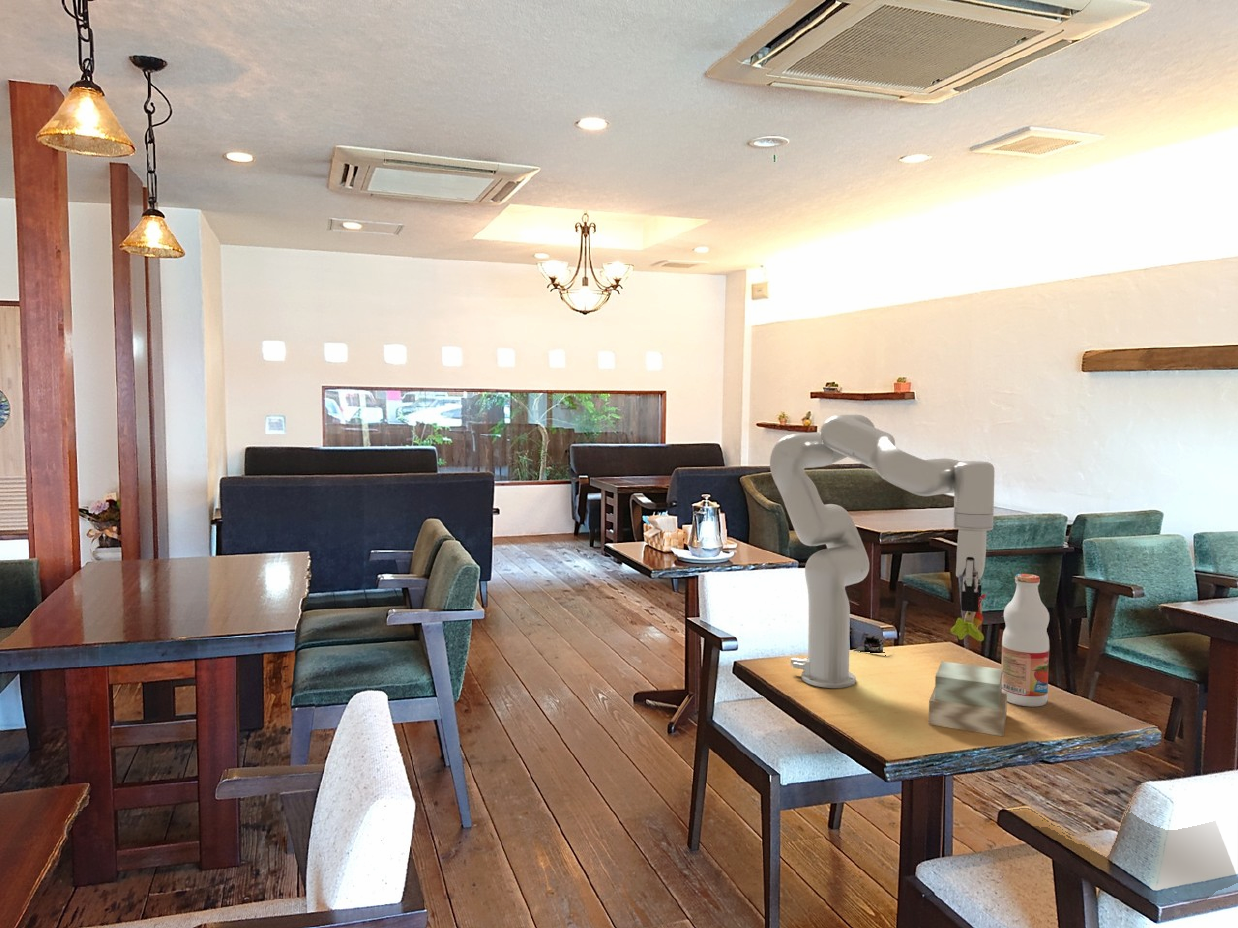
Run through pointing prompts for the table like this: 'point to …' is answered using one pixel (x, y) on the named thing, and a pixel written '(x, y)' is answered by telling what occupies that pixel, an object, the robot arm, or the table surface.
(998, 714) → the striped stacked block
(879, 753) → the table surface
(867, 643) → the dark grey rounded block
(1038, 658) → the fruit juice
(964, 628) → the bird rattle
